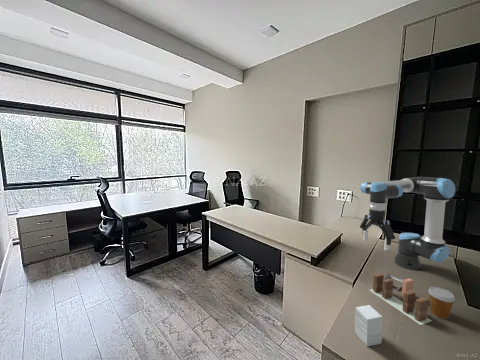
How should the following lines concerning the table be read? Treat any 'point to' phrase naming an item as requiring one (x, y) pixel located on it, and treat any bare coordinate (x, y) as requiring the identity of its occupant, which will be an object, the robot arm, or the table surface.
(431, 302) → the disposable coffee cup
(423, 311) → the domino
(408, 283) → the domino
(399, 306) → the runner
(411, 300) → the domino
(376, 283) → the domino
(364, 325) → the supplement box
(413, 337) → the table surface
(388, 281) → the domino
